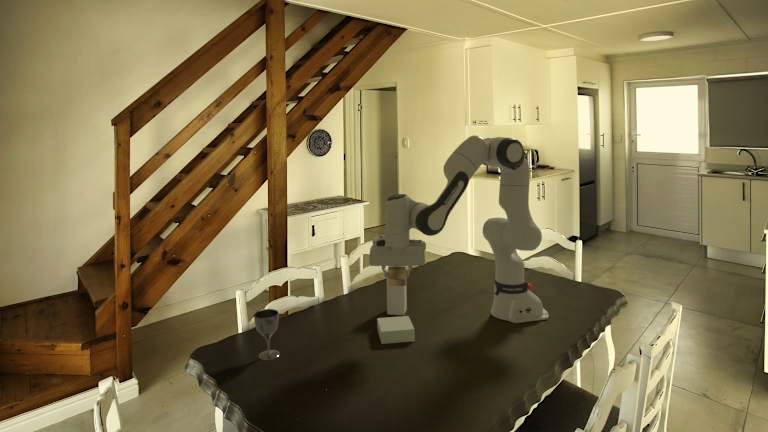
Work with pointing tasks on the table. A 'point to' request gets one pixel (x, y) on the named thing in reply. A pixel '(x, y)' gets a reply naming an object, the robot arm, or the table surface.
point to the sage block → (395, 329)
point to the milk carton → (396, 299)
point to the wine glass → (267, 330)
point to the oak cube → (397, 275)
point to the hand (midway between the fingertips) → (396, 277)
